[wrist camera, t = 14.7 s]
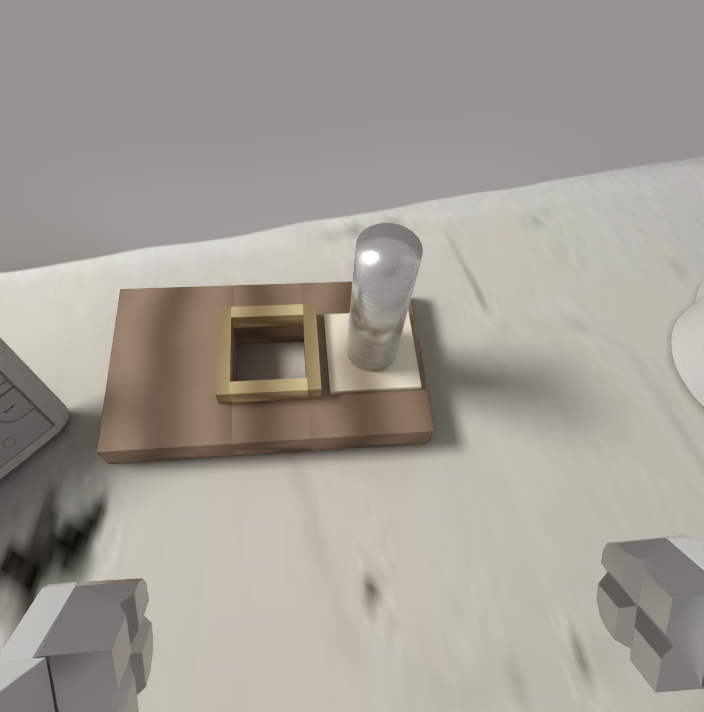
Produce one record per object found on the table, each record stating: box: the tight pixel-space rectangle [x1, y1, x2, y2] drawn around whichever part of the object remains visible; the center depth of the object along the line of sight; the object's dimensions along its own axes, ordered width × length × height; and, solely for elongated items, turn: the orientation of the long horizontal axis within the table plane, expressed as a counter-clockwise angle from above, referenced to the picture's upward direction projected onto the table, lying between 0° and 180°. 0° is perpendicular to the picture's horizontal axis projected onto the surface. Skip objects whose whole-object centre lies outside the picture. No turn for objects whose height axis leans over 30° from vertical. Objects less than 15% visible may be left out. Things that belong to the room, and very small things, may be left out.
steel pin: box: [346, 223, 423, 372], centre depth 38 cm, size 4×4×12 cm
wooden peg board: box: [97, 282, 434, 464], centre depth 43 cm, size 24×14×4 cm, turn 95°
